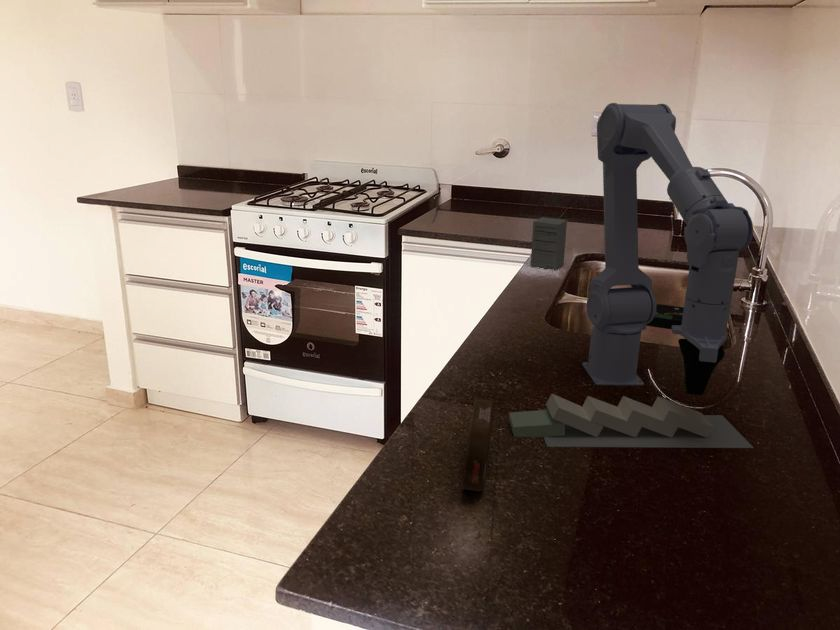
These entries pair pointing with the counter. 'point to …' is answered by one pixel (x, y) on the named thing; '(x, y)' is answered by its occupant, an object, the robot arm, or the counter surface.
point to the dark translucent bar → (478, 445)
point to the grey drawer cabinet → (548, 243)
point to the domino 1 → (535, 424)
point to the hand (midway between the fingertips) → (694, 392)
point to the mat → (654, 438)
